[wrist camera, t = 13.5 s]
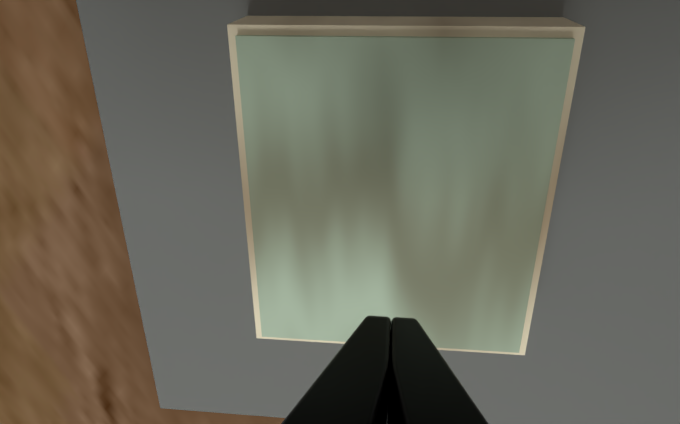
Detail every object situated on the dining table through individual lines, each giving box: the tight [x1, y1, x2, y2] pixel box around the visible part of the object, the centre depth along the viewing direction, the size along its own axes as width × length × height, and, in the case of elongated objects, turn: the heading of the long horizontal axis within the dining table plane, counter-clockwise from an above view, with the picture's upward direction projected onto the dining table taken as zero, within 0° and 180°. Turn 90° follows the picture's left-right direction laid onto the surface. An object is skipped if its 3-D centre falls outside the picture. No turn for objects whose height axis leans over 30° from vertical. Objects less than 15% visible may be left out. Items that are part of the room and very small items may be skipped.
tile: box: [227, 16, 585, 355], centre depth 13 cm, size 8×2×7 cm
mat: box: [76, 0, 680, 424], centre depth 14 cm, size 18×16×1 cm
